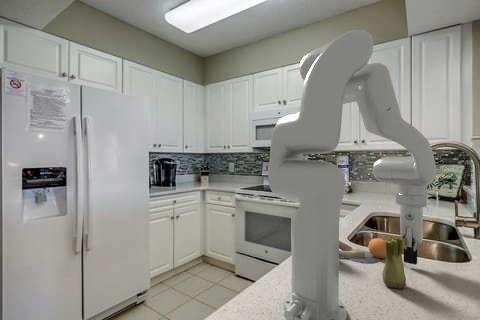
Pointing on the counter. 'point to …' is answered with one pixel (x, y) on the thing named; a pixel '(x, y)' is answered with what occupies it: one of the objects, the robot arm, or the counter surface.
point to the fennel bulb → (394, 265)
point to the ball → (377, 247)
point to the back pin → (344, 246)
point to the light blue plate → (368, 259)
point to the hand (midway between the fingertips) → (410, 262)
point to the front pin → (352, 254)
